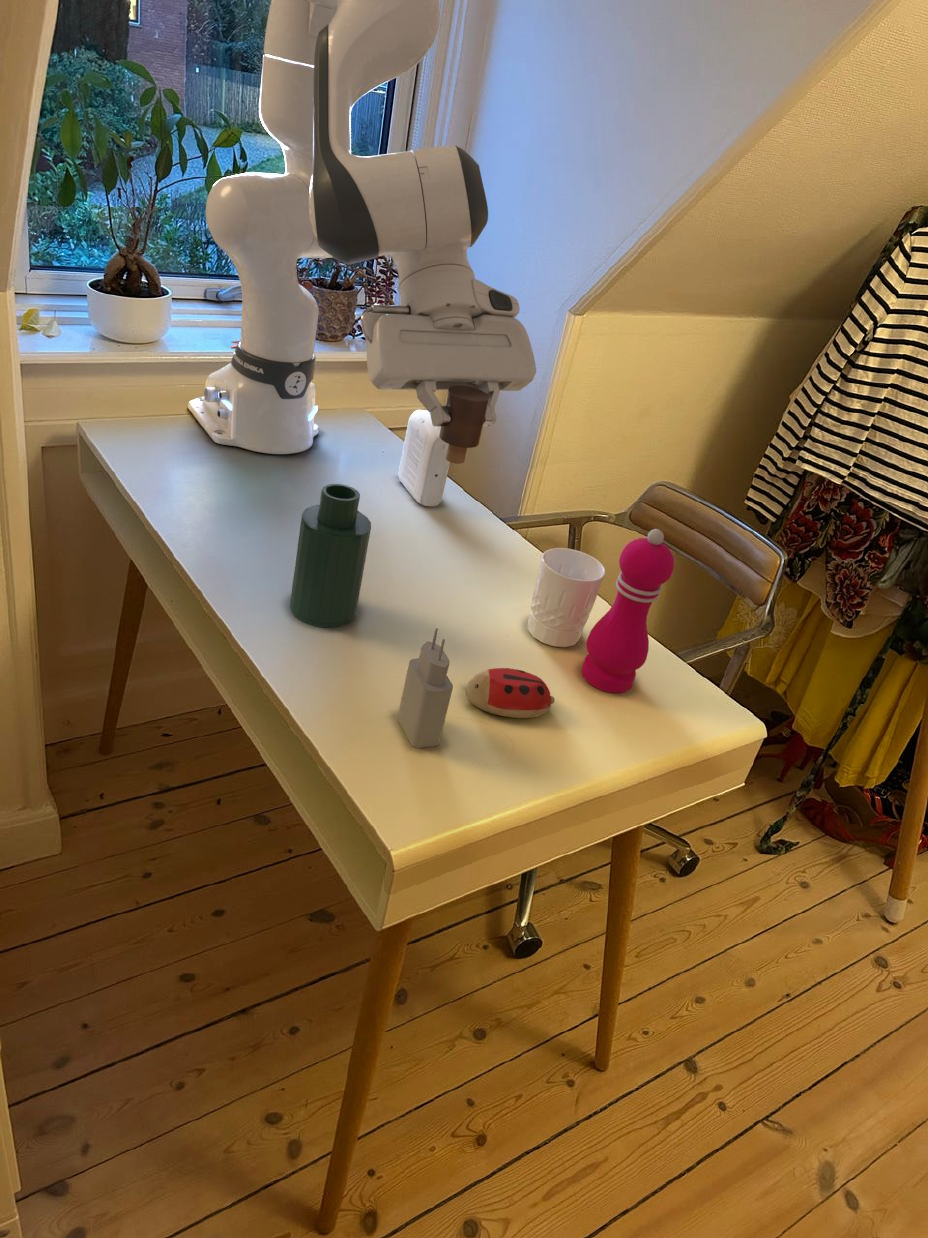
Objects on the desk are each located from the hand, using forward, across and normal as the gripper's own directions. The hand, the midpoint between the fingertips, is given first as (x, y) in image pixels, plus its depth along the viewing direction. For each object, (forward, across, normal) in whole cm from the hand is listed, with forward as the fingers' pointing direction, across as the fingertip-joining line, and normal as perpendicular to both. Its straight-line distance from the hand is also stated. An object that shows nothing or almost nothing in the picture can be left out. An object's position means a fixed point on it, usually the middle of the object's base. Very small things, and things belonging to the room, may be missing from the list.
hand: (465, 424), depth 108 cm
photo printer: (-4, +14, +39) cm, 42 cm away
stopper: (+3, 0, +4) cm, 5 cm away
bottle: (+16, -13, +18) cm, 28 cm away
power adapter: (+32, -12, +2) cm, 35 cm away
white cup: (+23, +14, +12) cm, 29 cm away
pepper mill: (+30, +15, +4) cm, 34 cm away
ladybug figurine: (+31, 0, +3) cm, 31 cm away
